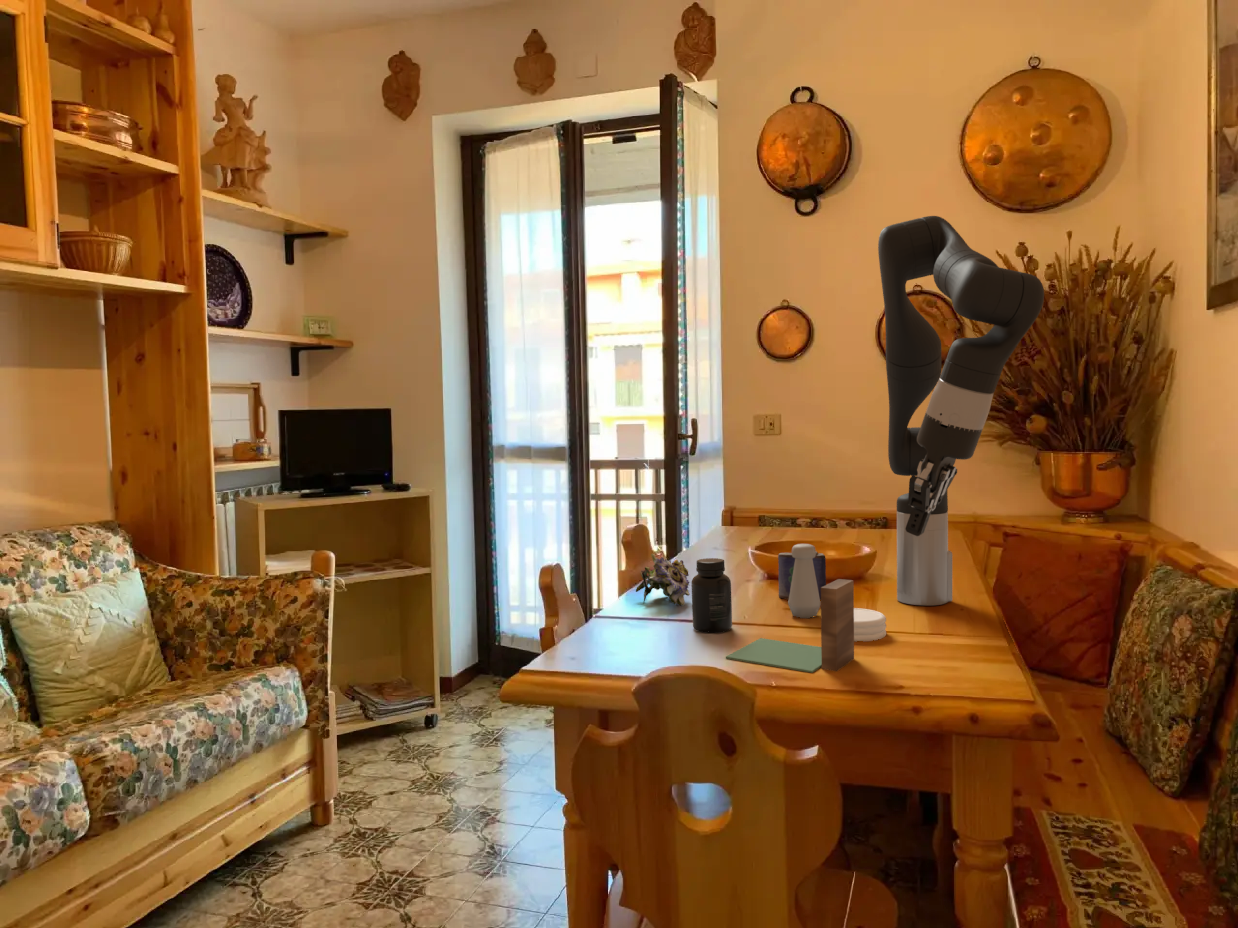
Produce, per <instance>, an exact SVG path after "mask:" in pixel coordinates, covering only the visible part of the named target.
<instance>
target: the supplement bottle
mask: <svg viewBox="0 0 1238 928" xmlns="http://www.w3.org/2000/svg"><path fill="white" fill-rule="evenodd" d="M725 571H726V568H725V560H724V559H723V558H713V557H712V558H711V557H707V558H701V559H700V558H699V559H697V560H696V573H697V574H696V575H695V576H694V577H693V578H692V579H691V585H690V586H691V614H692V628H693V629H694V630H695V631H697V632H699V633H704V634H705V633H706V634H719V633H725V632H728V631H730V630H731V629H732V627H733V608H732V583H731V581H732V580H731V578H730V577H729V576H728V575H727V574H725Z"/></svg>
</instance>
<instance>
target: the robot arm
mask: <svg viewBox="0 0 1238 928" xmlns="http://www.w3.org/2000/svg"><path fill="white" fill-rule="evenodd" d="M877 245H878V246H877V247H878V248H877V251H878V262H879V263H878V264H879V272H880V278H881V280H880V281H881V288H882V289H881V290H882V297H883V305H884V320H885V321H884V322H885V324H884V325H885V327H884V328H885V366H886V367H885V369H886V371H885V372H886V382H887V392H888V408H889V409H888V411H889V412H888V445H887V446H888V448H887V449H888V452H887V454H888V455H887V457H888V462H889V464H888V465H889V468H890V469H891V471H892V473H893V474H894V475H898V476H903V477H906V476H907V477H910V478H909V480H908V492H907V493H904V494H901V495H899V496H898V497H897V499H896V600H897V601H898V602H900V603H903V604H908V605H915V606H939V605H940V606H941V605H945V604H947V603H949V602H953V551H951V550H949V517H948V516H949V509H948V508H949V504H948V503H949V500H948V489H949V487H950V486H951V484H952V482H953V480H954V478H955V477H956V475H957V474H958V468H957V466H955V464H956V462H957V461H956V460H960V461H961V460H962V461H963V460H965V461H966V460H969V459H972V458H973V456H974V454H975V451H976V449H977V445H978V443H979V440H980V437H981V435H982V432H983V429H984V427H985V424H986V421H987V418H988V415H989V413H990V410H991V406H992V405H991V404H992V402H993V398H994V393H995V391H996V388H997V385H998V384H999V380H1000V377H1001V374H1002V371H1003V370H1004V367H1005V365H1006V363H1007V361H1008V360H1009V358H1010V357H1011V355H1012V354H1013V353H1014V351H1015V350H1016V348H1017V347H1018V345H1019V343H1020V342H1021V340H1023V337H1024V336H1025V335H1027V332H1028V331H1029V330H1030V328H1031V327H1032V326H1033V324H1034V323H1035V321H1036V320H1037V318H1038V317H1039V314H1040V313H1041V310H1042V309H1043V305H1044V302H1045V301H1044V300H1045V290H1044V286H1043V283H1042V282H1041V279H1040V278H1038V277H1037V276H1036V275H1033V274H1031V273H1027V272H1021V271H1017V270H1013V269H1009V268H1003V267H1000V266H998V264H996V262H995V261H994V260H992V259H990V258H989V257H988V256H985V255H984V254H982V253H980V252H978V251H976V250H974V249H972V248H971V247H970V245H968V243H967V242H966V241H965V239H964V238H963V237H962V236H961V235H960V234H959V232H958V231H957V230H956V229H955V228H954V226H953V225H952V224H951V223H950V222H949V220H946V219H945V218H943V217H942V216H938V215H929V216H928V215H927V216H923V217H918V218H914V219H910V220H906V221H901V222H898V223H895V224H894V223H893V224H890V225H887V226H885V227H884V228H883V229H882V230H881V231H880V233H879V236H878V244H877ZM929 276H933V277H932V278H933V281H934V283H935V285H936V287H937V289H938V290H939V291H940V292H941V293H942V295H945V296H946V297H947V298H948V299H949V300H951V302H952V307H953V310H954V311H955V312H956V314H957V315H959V316H961V317H963V318H965V319H967V320H971V321H976V322H979V323H985V324H988V325H989V324H990V325H993V326H992V328H991V329H990V330H988V332H987V333H986V334H984V335H983V336H978V337H962V338H961V337H960V338H957V339H956V340H954V341H953V342H952V344H951V346H950V347H949V350H948V353H947V356H946V358H945V361H944V364H943V367H942V341H941V338H940V336H939V334H938V332H937V331H936V330H935V328H934V327H933V326H932V325H931V324H930V322H928V320H927V319H926V318H925V317H924V316H923V315H922V314H921V313H920V312H919V311H918V309H917V308H916V306H915V305H914V304H913V303H912V301H911V300H910V298H909V297H908V293H907V291H906V289H907V288H906V285H907V282H908V281H912V280H916V279H920V278H925V277H929ZM930 394H931V396H930V399H929V402H928V405H927V408H926V411H925V413H924V417H923V419H922V421H921V425H920V427H916V426H915V427H908V426H909V423H910V421H911V419H912V417H913V416H914V414H915V412H916V410H917V409H918V408H919V406H921V405H922V403H924V401H925V400H926V399H927V398H928V397H929V395H930Z"/></svg>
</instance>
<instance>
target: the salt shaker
mask: <svg viewBox="0 0 1238 928" xmlns="http://www.w3.org/2000/svg"><path fill="white" fill-rule="evenodd" d="M816 552H817V550H816V546H815V545H813V544H810V543H797V544H794V545H793V546H792V548H791V553H792V557H794V558H795V564H794V570H793V576H792V582H791V588H790V595H789V599H787V600H788V601H787V604H788V607H789V609H790V612H791V615H792V616H793V617H795V616H796V617H795V618H798V617H800V618H799V619H811V618H810V617H812V618H814V617H813V616H816V617H817V615H818V613H819V610H820V609H821V601H820V597H819V592H818V586H817V581H816V576H815V570H814V565H813V559H812V558H814V557H815V556H816Z"/></svg>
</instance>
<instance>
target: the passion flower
mask: <svg viewBox="0 0 1238 928" xmlns="http://www.w3.org/2000/svg"><path fill="white" fill-rule="evenodd" d="M650 556H651V558H652V562H653V563H654V565H653V567H654V568H653V570H651V568H650V567H647V566H645V567H644V570H641V571H640V576H641V578H642V579H643V580H642V581H641V582H640V583H639V585H638V586H637V587H636V588H635V592H636V593H637V592H639V591H641V590H642V589H643V590H644V592H643V603H645V601H646V598H647V596H648V595H649V594H651V592H652V590H653V589H655V590H656V591H659V590H660V589H661V590H662V593H663V595H664V596H665V597H668V599H669V601H670V602H671V603H672V604H674V605H677V604H678V605H679V606H682V607H684V606H685V604H686V602H685V601H686V600H685V595H686V596H687V597H689V596H690V595H691V593H690V592H689V586H690V580H689V579H688V577H689V575H690V574H689V570H688V569H687V567H686V566H685V564H684V560H682V559H681V560H680V561H679V560H678V559H674V561H672V560H671V559H669V560H667V559H666V558H665V557H663V556H662V557H661V558H658V557H656V554H654V553H651V554H650ZM647 574H648V575H647ZM648 585H649V586H648Z"/></svg>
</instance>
